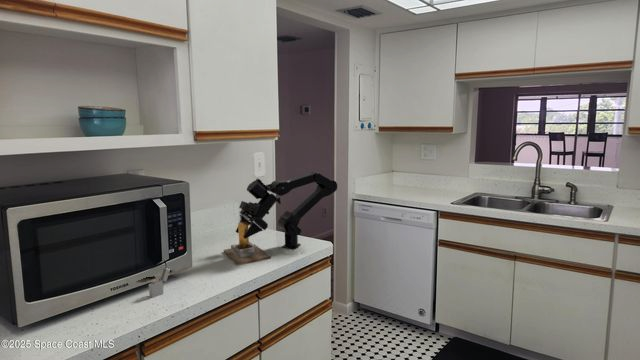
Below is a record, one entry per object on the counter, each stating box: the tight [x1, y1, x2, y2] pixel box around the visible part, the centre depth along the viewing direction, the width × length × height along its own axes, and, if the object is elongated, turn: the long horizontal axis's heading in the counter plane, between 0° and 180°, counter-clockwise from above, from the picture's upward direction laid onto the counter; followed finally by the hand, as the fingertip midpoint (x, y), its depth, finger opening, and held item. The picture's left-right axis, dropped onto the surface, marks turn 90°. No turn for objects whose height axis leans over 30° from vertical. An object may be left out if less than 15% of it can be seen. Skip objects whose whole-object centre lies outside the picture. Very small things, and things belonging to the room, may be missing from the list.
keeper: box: [223, 241, 272, 266], centre depth 167 cm, size 14×18×4 cm
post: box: [237, 221, 250, 250], centre depth 166 cm, size 4×4×13 cm
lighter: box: [148, 268, 170, 299], centre depth 132 cm, size 7×2×8 cm, turn 144°
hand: (240, 235), depth 165 cm, fingers open, 9 cm apart
